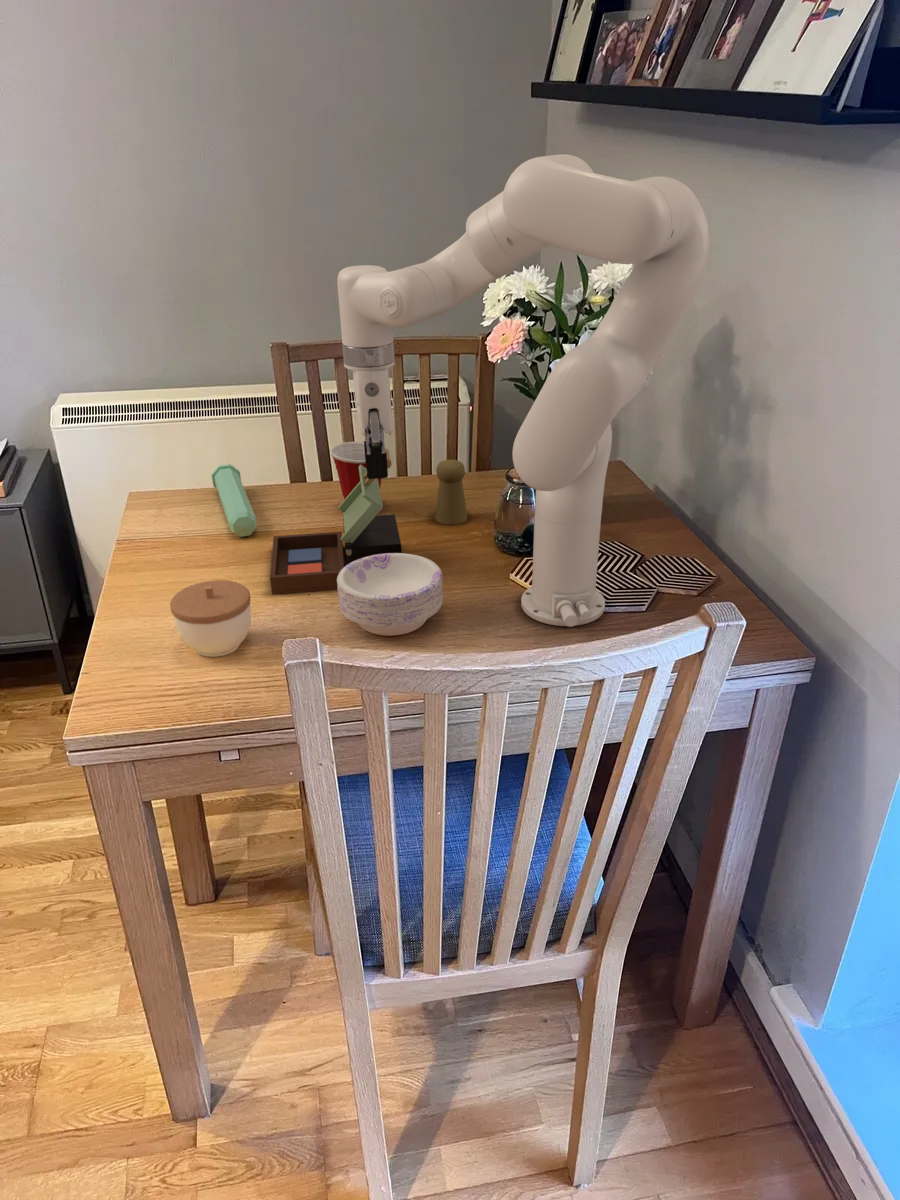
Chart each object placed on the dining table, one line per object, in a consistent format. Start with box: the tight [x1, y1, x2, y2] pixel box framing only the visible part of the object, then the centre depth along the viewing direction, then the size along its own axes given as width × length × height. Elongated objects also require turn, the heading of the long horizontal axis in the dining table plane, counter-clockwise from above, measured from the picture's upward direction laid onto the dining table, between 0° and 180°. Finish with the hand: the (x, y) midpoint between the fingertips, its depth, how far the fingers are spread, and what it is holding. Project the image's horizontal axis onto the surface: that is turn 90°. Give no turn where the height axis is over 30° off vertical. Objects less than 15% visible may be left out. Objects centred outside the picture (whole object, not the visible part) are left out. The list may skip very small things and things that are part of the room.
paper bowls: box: [337, 552, 444, 637], centre depth 127 cm, size 15×15×8 cm
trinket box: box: [169, 579, 252, 658], centre depth 121 cm, size 11×11×9 cm
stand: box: [341, 511, 402, 565], centre depth 144 cm, size 17×9×8 cm, turn 8°
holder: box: [269, 531, 345, 595], centre depth 143 cm, size 16×12×3 cm
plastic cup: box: [329, 441, 383, 501], centre depth 163 cm, size 11×11×12 cm
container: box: [211, 463, 258, 538], centre depth 164 cm, size 6×6×25 cm
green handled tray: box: [338, 447, 392, 544], centre depth 139 cm, size 13×14×4 cm
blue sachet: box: [288, 548, 322, 565], centre depth 146 cm, size 5×6×1 cm
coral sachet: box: [288, 563, 322, 574], centre depth 141 cm, size 5×6×1 cm
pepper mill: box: [434, 459, 468, 526], centre depth 159 cm, size 6×6×11 cm
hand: (376, 470), depth 138 cm, fingers closed on green handled tray, 5 cm apart
